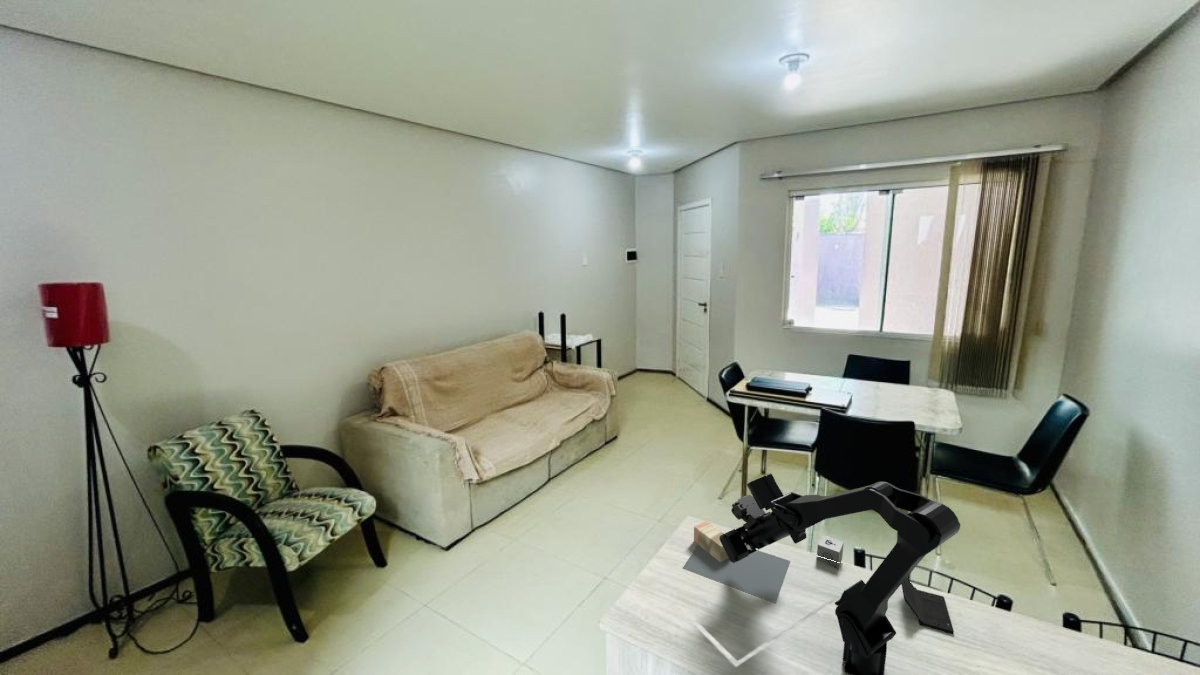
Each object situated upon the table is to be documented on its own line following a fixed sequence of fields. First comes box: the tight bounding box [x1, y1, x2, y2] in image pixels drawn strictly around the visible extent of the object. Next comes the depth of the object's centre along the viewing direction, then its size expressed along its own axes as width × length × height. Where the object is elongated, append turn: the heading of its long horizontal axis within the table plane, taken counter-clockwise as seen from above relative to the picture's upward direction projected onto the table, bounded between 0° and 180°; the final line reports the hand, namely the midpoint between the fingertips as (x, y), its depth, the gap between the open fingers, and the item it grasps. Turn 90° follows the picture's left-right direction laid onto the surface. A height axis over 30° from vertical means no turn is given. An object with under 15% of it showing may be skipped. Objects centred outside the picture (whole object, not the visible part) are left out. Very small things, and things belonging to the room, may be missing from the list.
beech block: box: [693, 520, 729, 562], centre depth 123 cm, size 4×4×10 cm
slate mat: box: [682, 544, 791, 604], centre depth 118 cm, size 22×16×1 cm
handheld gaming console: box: [900, 577, 955, 635], centre depth 103 cm, size 12×7×10 cm
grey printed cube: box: [816, 534, 845, 571], centre depth 119 cm, size 5×5×5 cm
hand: (736, 544), depth 116 cm, fingers closed
